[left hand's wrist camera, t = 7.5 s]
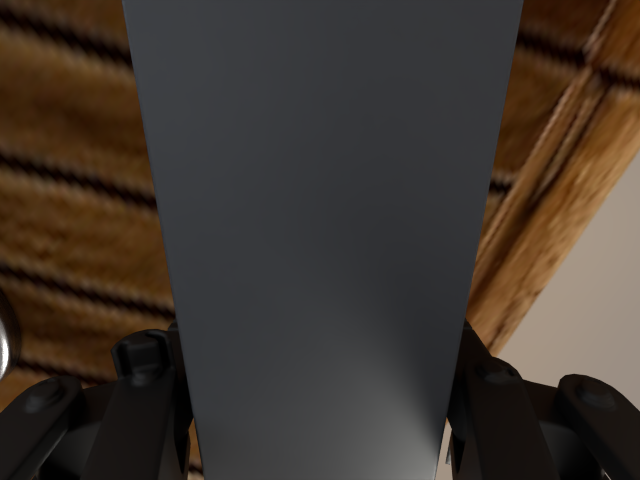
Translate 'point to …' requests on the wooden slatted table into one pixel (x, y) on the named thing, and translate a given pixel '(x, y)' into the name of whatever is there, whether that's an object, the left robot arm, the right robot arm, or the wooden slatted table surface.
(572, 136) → the wooden slatted table surface
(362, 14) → the bar
